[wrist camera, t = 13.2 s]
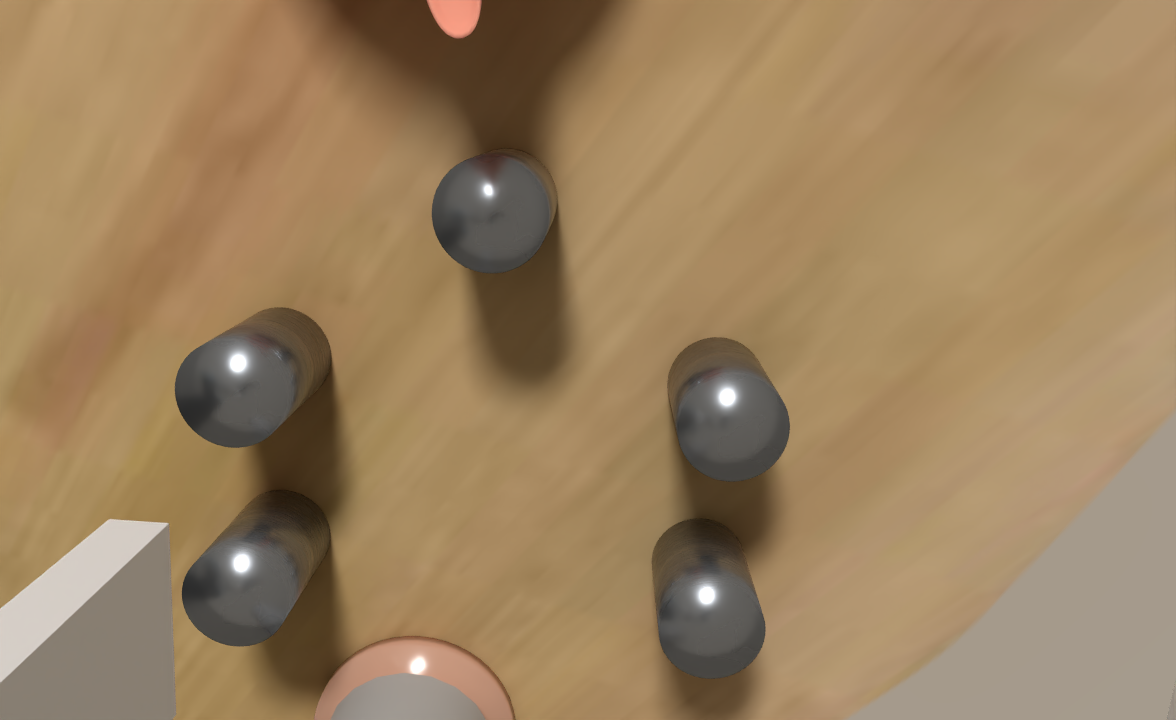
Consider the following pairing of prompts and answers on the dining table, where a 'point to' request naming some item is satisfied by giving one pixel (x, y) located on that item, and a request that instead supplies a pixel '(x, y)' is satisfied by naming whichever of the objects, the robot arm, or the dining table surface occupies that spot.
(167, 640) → the robot arm
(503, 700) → the pink flat disc
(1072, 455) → the dining table surface
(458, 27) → the teapot
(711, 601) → the chrome peg cluster
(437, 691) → the can
